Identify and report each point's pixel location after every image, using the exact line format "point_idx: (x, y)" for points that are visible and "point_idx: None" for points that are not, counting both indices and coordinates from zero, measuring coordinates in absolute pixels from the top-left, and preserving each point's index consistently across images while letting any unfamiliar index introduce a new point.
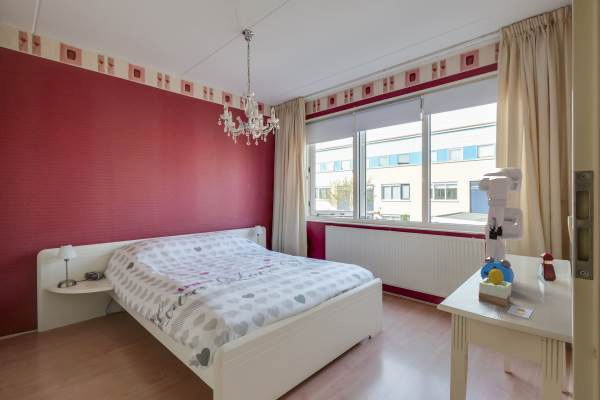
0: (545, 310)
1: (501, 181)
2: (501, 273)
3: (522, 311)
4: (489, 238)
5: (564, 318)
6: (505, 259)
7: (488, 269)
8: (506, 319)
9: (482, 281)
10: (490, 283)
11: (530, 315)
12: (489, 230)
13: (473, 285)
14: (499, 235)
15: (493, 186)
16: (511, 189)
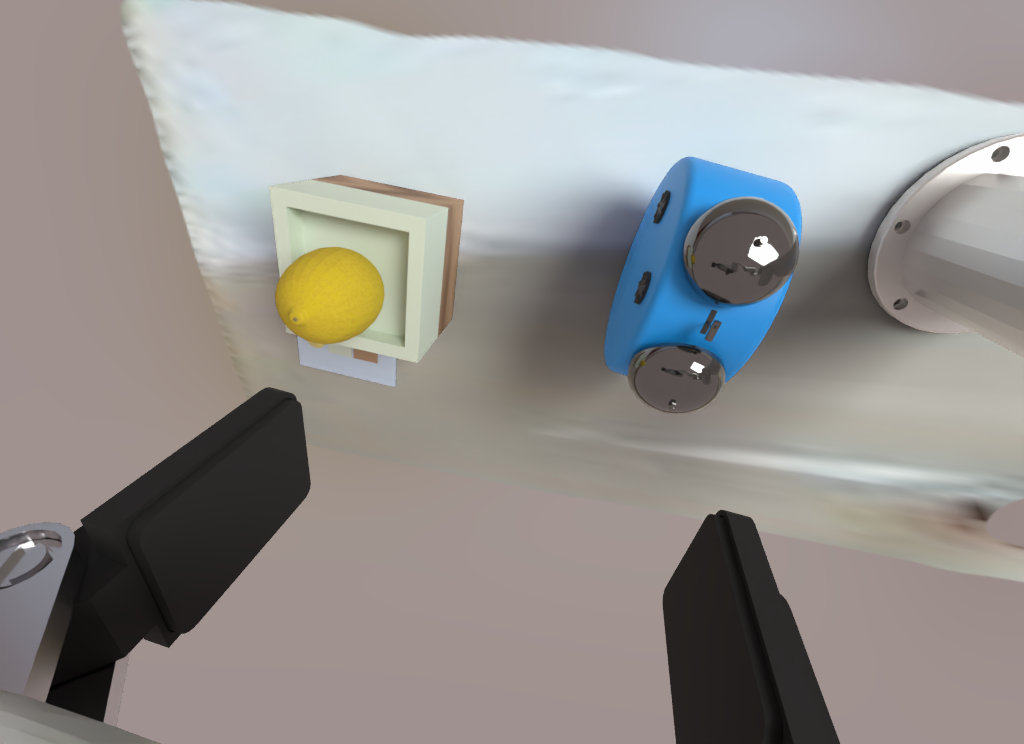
0: (441, 424)
1: None
2: (305, 339)
3: (351, 353)
4: (269, 393)
5: (405, 460)
6: None
7: (663, 230)
8: (228, 295)
9: (308, 203)
10: (390, 247)
11: (341, 373)
12: (5, 531)
13: (624, 108)
14: (679, 581)
15: None
16: None
